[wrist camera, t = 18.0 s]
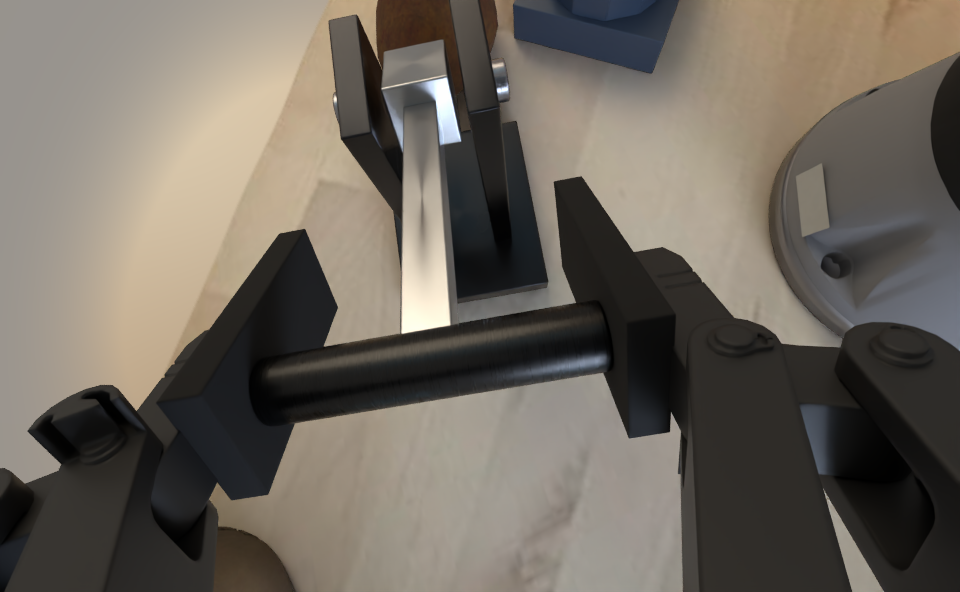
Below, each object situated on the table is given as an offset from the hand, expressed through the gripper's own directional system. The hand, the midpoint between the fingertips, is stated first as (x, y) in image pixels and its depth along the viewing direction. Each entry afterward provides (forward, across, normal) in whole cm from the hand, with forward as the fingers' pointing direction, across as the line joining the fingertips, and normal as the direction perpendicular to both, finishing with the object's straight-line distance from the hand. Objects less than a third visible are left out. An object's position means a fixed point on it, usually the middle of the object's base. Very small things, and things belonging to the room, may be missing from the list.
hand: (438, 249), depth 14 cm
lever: (+1, 0, -1) cm, 1 cm away
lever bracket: (+14, 0, +5) cm, 15 cm away
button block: (+23, -11, -4) cm, 26 cm away
